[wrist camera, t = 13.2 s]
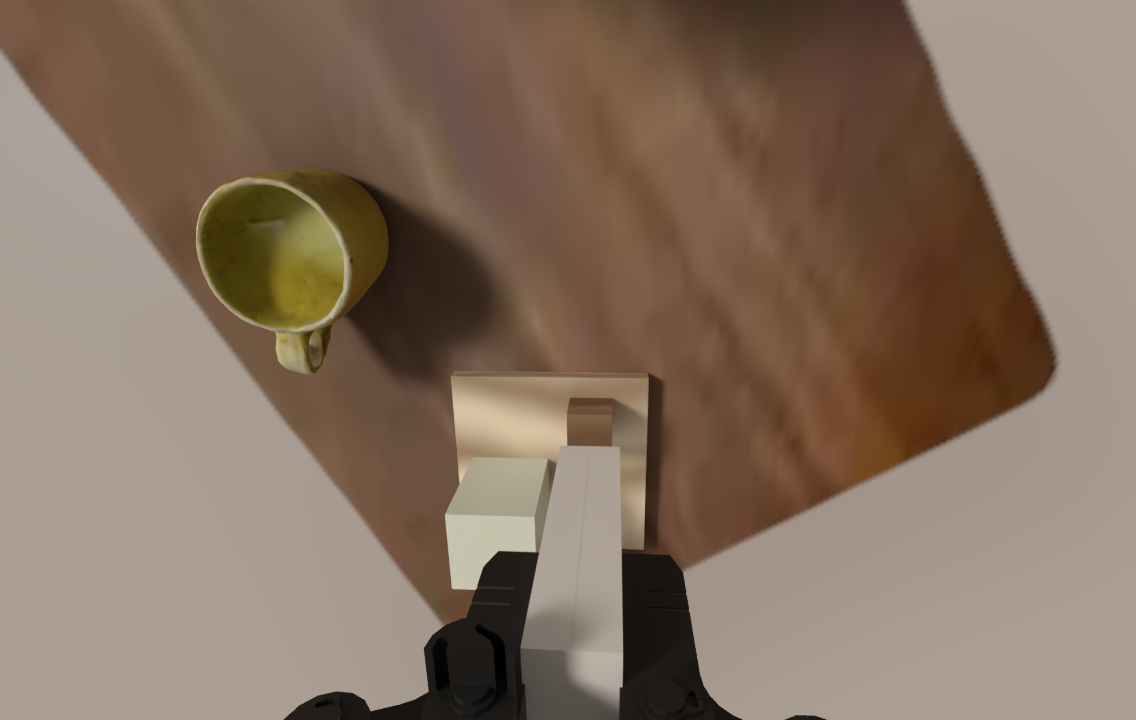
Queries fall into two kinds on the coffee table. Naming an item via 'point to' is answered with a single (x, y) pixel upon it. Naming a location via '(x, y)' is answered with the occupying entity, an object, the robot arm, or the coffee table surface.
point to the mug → (292, 254)
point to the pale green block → (495, 514)
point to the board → (558, 424)
